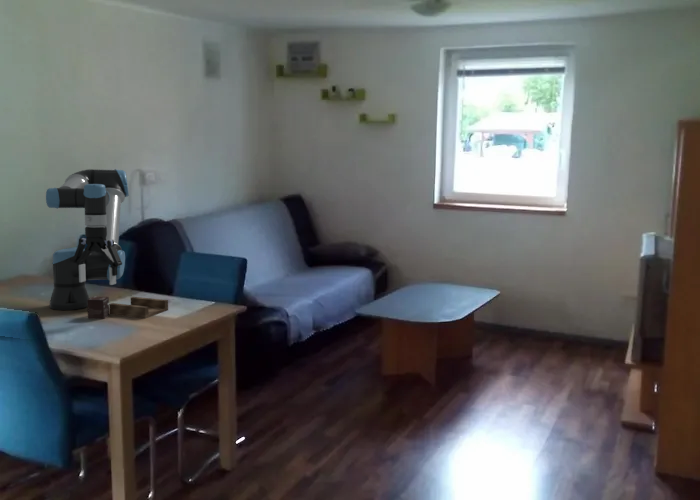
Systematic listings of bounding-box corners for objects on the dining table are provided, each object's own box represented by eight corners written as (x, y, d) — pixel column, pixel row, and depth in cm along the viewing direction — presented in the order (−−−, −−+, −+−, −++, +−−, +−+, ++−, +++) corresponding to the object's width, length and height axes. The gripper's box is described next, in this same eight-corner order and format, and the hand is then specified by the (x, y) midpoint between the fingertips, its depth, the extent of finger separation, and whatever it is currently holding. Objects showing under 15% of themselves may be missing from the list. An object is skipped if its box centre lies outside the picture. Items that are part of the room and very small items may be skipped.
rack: (109, 314, 262) (109, 304, 261) (133, 306, 276) (133, 296, 275) (145, 318, 256) (145, 307, 256) (168, 310, 271) (168, 300, 270)
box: (103, 319, 254) (103, 299, 253) (87, 318, 254) (86, 299, 253) (109, 315, 260) (109, 296, 259) (93, 315, 260) (93, 296, 259)
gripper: (60, 225, 253) (63, 282, 256) (117, 228, 245) (119, 287, 248) (75, 223, 260) (77, 278, 263) (130, 226, 252) (132, 283, 255)
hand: (97, 283), depth 255 cm, fingers open, 13 cm apart
